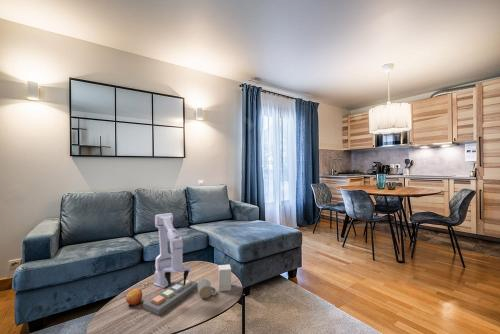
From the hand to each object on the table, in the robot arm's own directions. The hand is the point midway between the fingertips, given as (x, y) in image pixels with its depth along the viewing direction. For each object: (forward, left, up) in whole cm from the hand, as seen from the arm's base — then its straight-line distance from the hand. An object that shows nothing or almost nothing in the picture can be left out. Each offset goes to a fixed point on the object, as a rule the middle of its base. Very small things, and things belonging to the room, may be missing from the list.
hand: (177, 285), depth 125 cm
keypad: (-5, +2, -9) cm, 11 cm away
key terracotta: (-5, -8, -6) cm, 12 cm away
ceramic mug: (+10, +13, -9) cm, 19 cm away
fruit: (-20, -12, -9) cm, 25 cm away
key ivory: (-5, +11, -6) cm, 14 cm away
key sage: (-5, -1, -7) cm, 9 cm away
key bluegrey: (-5, +5, -6) cm, 10 cm away
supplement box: (+15, +24, -9) cm, 30 cm away
